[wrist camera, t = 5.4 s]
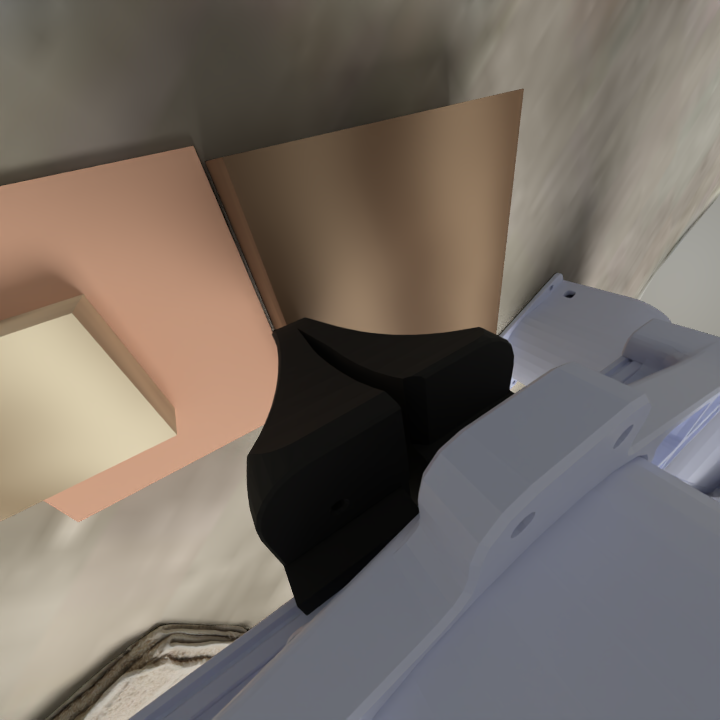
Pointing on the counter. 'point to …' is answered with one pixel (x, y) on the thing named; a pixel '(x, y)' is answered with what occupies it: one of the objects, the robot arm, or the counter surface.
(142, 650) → the washcloth
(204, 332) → the mat
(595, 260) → the counter surface
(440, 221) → the brown flat block
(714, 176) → the counter surface
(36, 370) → the tile
